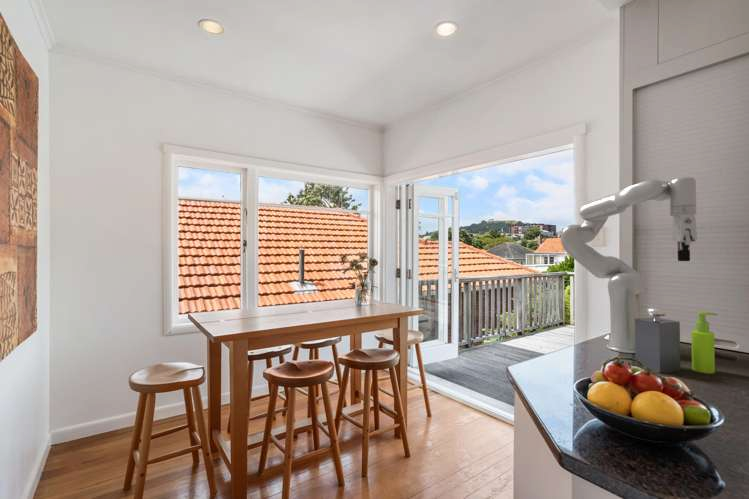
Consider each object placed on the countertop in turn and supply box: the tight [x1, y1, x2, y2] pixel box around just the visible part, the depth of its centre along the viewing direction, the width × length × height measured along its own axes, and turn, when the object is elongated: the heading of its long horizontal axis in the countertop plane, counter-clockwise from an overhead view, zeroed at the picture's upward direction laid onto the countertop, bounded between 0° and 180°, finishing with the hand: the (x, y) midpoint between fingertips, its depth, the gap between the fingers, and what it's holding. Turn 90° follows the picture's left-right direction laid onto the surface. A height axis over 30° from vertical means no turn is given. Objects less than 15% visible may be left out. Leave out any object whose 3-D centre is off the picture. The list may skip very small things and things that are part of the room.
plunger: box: [646, 307, 667, 321], centre depth 132 cm, size 6×6×19 cm
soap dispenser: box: [691, 311, 718, 374], centre depth 128 cm, size 6×7×20 cm
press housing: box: [634, 316, 681, 373], centre depth 132 cm, size 9×9×17 cm
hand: (683, 260), depth 139 cm, fingers closed
